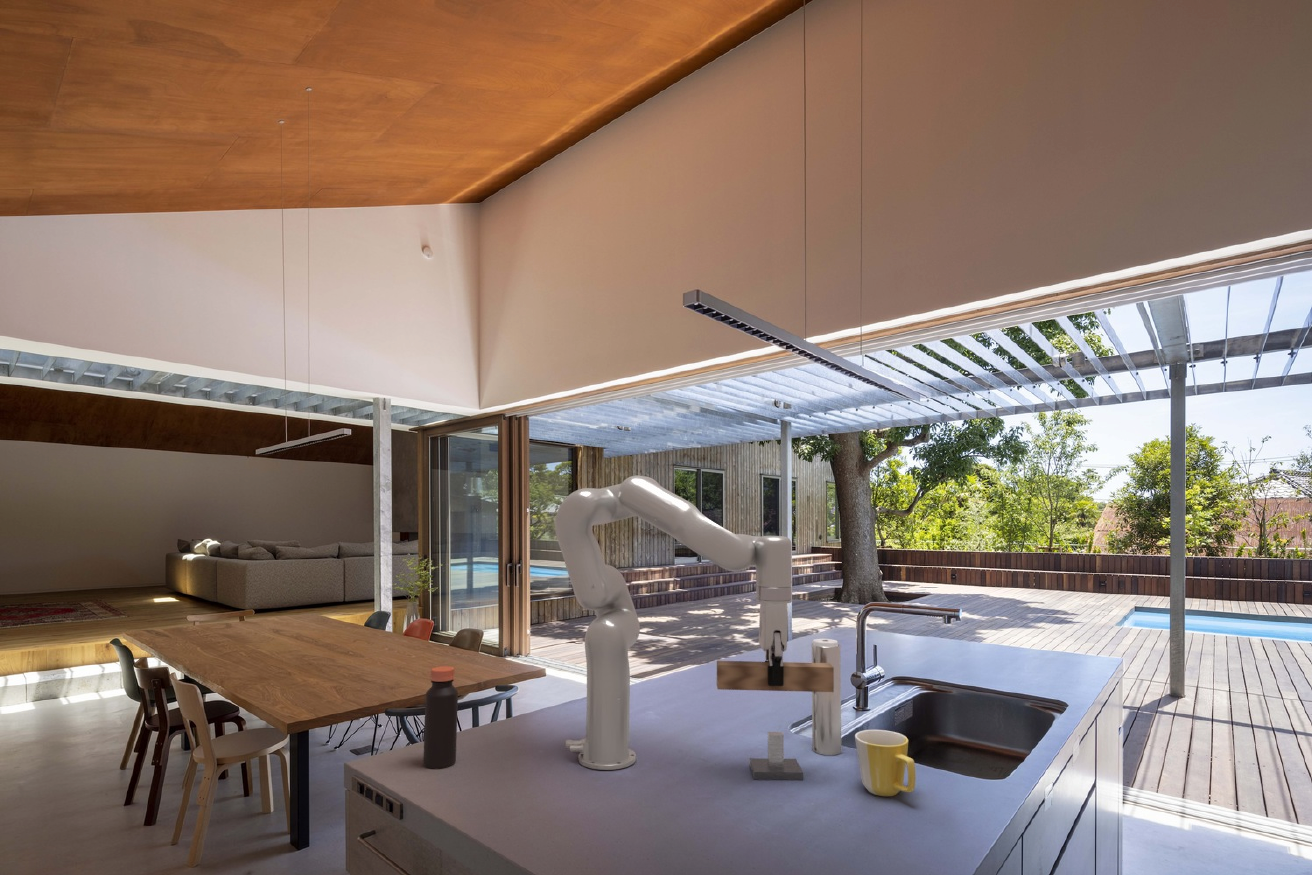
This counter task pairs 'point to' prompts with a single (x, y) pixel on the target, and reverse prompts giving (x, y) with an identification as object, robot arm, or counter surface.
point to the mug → (884, 762)
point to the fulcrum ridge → (775, 762)
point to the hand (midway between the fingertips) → (774, 681)
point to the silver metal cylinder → (827, 701)
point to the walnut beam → (756, 676)
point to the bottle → (440, 719)
